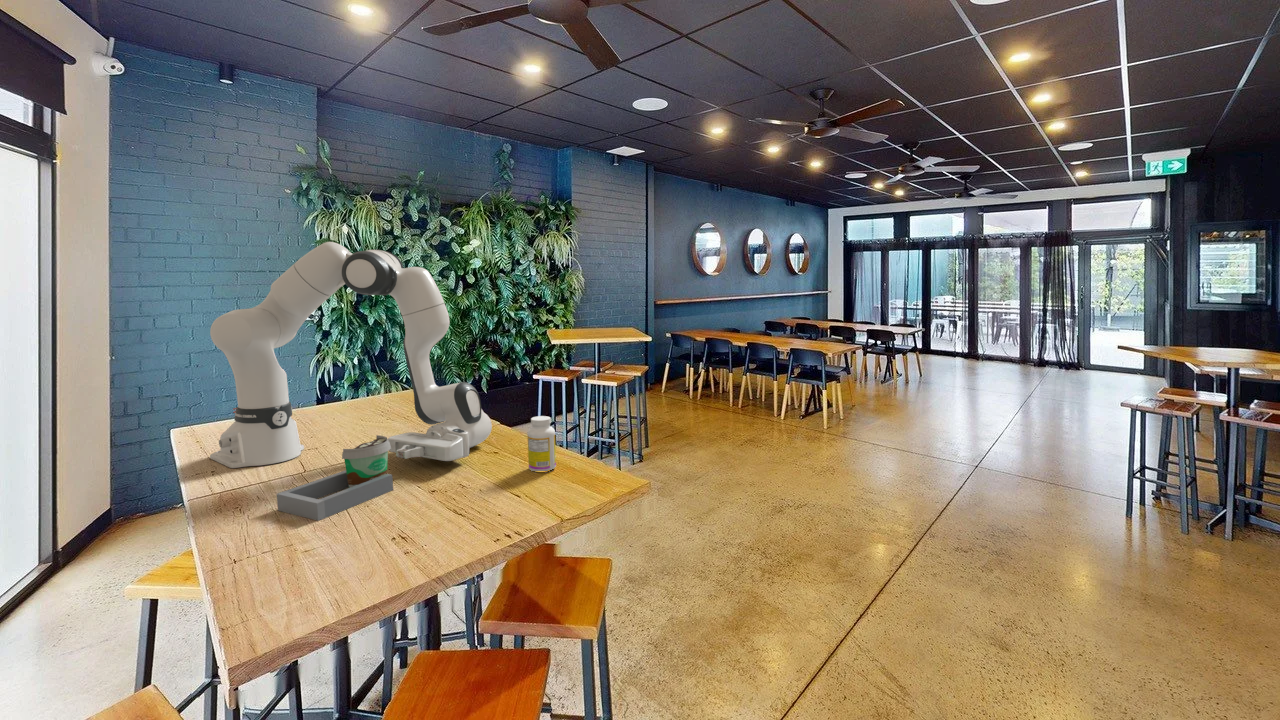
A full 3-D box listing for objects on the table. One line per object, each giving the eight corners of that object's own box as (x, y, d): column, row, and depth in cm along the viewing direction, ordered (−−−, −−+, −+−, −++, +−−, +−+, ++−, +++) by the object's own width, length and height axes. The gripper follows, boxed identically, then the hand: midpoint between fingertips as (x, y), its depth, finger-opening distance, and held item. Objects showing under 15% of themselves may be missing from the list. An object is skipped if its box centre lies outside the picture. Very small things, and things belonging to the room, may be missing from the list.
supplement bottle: (542, 463, 146) (541, 413, 144) (561, 468, 142) (560, 417, 140) (522, 470, 140) (521, 418, 139) (542, 475, 136) (540, 422, 135)
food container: (369, 496, 124) (366, 451, 122) (344, 494, 125) (341, 449, 123) (404, 477, 135) (401, 435, 134) (380, 475, 137) (378, 434, 135)
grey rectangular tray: (277, 510, 116) (276, 493, 115) (354, 482, 132) (353, 467, 132) (318, 520, 111) (317, 503, 110) (393, 489, 127) (392, 474, 127)
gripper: (412, 424, 153) (368, 436, 140) (473, 432, 144) (432, 447, 132) (413, 447, 153) (369, 461, 141) (473, 457, 145) (433, 473, 133)
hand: (400, 454), depth 136 cm, fingers closed
